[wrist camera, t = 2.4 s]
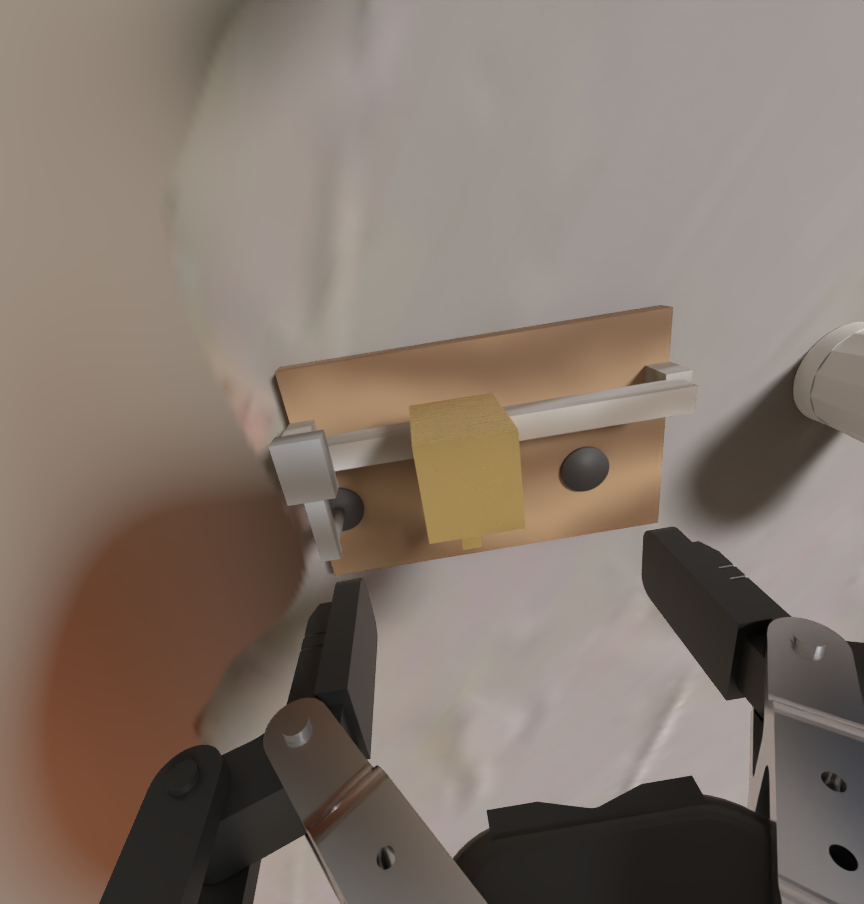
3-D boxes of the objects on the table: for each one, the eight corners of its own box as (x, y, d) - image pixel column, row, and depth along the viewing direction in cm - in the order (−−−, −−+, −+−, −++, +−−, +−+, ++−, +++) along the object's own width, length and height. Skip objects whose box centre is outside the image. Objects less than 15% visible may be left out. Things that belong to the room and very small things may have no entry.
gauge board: (280, 367, 25) (245, 398, 20) (661, 305, 25) (737, 318, 20) (337, 564, 31) (323, 633, 25) (648, 513, 31) (704, 570, 25)
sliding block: (407, 385, 24) (412, 446, 16) (479, 373, 24) (518, 429, 16) (428, 506, 28) (440, 607, 20) (492, 496, 28) (530, 592, 20)
